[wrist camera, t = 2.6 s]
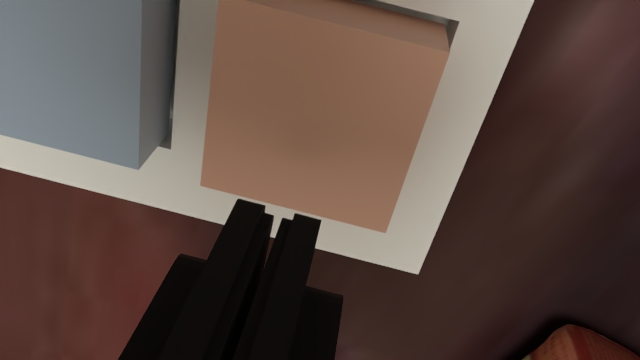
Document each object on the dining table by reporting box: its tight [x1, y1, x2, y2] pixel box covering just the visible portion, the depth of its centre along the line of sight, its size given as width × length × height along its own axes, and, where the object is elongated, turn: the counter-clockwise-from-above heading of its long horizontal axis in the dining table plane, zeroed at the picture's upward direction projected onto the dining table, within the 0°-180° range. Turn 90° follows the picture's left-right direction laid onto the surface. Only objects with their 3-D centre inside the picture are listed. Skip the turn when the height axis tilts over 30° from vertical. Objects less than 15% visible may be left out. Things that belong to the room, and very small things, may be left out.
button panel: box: [0, 0, 534, 274], centre depth 19 cm, size 12×26×4 cm, turn 78°
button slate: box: [0, 0, 176, 170], centre depth 16 cm, size 6×6×2 cm
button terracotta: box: [200, 0, 450, 233], centre depth 16 cm, size 6×6×2 cm
